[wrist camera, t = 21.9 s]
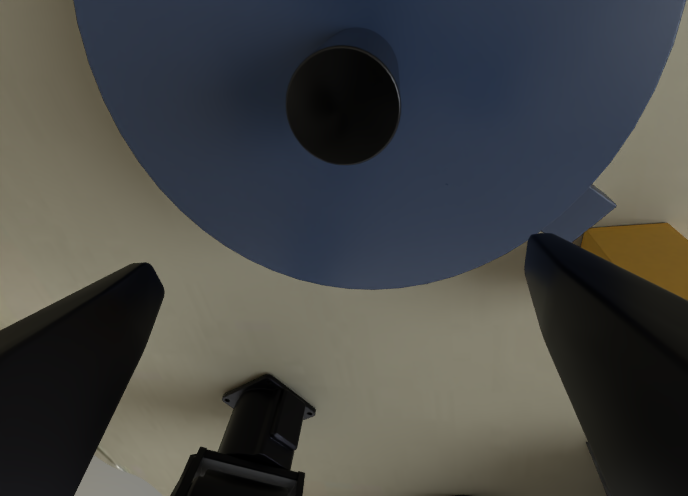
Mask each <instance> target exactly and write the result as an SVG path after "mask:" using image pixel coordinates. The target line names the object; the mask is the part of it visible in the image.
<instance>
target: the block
mask: <svg viewBox="0 0 688 496" xmlns="http://www.w3.org/2000/svg"><path fill="white" fill-rule="evenodd" d="M581 248H583V249H585V250H587V251H589V252H591V253H593V254H595V255H597V256H599V257H601V258H603V259H605V260H607V261H609V262H611V263H613V264H615V265H617V266H619V267H621V268H623V269H625V270H627V271H629V272H631V273H633V274H635V275H637V276H639V277H641V278H643V279H645V280H648V281H650V282H652V283H654V284H656V285H658V286H660V287H662V288H664V289H666V290H668V291H670V292H672V293H674V294H676V295H678V296H680V297H682V298H684V299H686V300H688V240H687V239H686V238H685V237H683V236H682V235H681V234H680V233H679V232H678V231H677V230H675V229H674V228H673V227H672V226H671V225H670V224H668V223H657V224H642V225H628V226H613V227H599V228H589V229H588V230H587V231H586V232H584V235H583V239H582V243H581Z"/></svg>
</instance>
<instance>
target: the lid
mask: <svg viewBox="0 0 688 496" xmlns="http://www.w3.org/2000/svg"><path fill="white" fill-rule="evenodd" d="M73 1H74V6H75V12H76V18H77V23H78V27H79V30H80V34H81V37H82V41H83V44H84V48H85V51H86V55H87V58H88V62H89V65H90V67H91V70H92V73H93V75H94V78H95V80H96V83H97V85H98V88H99V90H100V93H101V95H102V98H103V100H104V102H105V104H106V106H107V108H108V110H109V112H110V114H111V116H112V118H113V120H114V122H115V124H116V126H117V128H118V130H119V132H120V134H121V135H122V137H123V138H124V140H125V141H126V143H127V144H128V146H129V148H130V149H131V151H132V152H133V154H134V155H135V157H136V158H137V160H138V162H139V163H140V164H141V166H142V167H143V168H144V169H145V171H146V172H147V173H148V175H149V176H150V177H151V178H152V180H153V181H154V182H155V183H156V185H157V186H158V187H159V188H160V190H161V191H162V192H163V193H164V194H165V195H166V196H167V197H168V198H169V199H170V200H171V201H172V202H173V203H174V204H175V205H176V206H177V207H178V208H179V209H180V211H182V212H183V213H184V214H185V215H186V216H187V217H189V218H190V219H191V220H192V221H193V222H194V223H195V224H197V225H198V226H199V227H200V228H201V229H202V230H204V231H205V232H206V233H208V234H209V235H211V236H212V237H213V238H215V239H216V240H218V241H219V242H220V243H222V244H223V245H225V246H226V247H228V248H230V249H231V250H233V251H235V252H237V253H238V254H240V255H242V256H243V257H245V258H247V259H249V260H251V261H253V262H255V263H257V264H259V265H262V266H264V267H266V268H268V269H270V270H273V271H275V272H278V273H281V274H284V275H287V276H290V277H293V278H296V279H299V280H303V281H307V282H311V283H316V284H320V285H325V286H332V287H339V288H347V289H370V290H377V289H393V288H404V287H410V286H416V285H422V284H428V283H431V282H435V281H439V280H443V279H446V278H450V277H454V276H456V275H459V274H462V273H464V272H467V271H470V270H472V269H475V268H478V267H480V266H482V265H484V264H486V263H488V262H490V261H492V260H494V259H496V258H498V257H500V256H502V255H504V254H506V253H508V252H510V251H511V250H513V249H514V248H516V247H518V246H519V245H521V244H522V243H524V242H526V241H527V240H528V239H529V237H530V236H531V235H532V234H537V233H539V232H540V231H541V230H543V229H544V228H545V227H546V226H548V225H549V224H550V223H552V222H553V221H554V220H555V219H557V218H558V217H559V216H561V215H562V214H563V213H564V212H565V211H566V210H567V209H568V208H569V207H570V206H571V205H572V204H573V203H574V202H575V201H576V200H577V199H578V198H579V197H580V196H581V195H582V194H584V193H585V192H586V191H587V189H588V188H589V187H590V186H591V185H592V184H593V182H594V181H595V180H596V179H597V178H598V176H599V175H600V174H601V173H602V172H603V171H604V169H605V168H606V167H607V166H608V165H609V164H610V162H611V161H612V160H613V158H614V157H615V155H616V154H617V152H618V151H619V149H620V148H621V147H622V145H623V144H624V142H625V141H626V139H627V138H628V136H629V135H630V133H631V132H632V131H633V129H634V128H635V126H636V124H637V122H638V120H639V118H640V116H641V115H642V113H643V111H644V109H645V107H646V105H647V104H648V102H649V100H650V98H651V96H652V94H653V92H654V91H655V89H656V86H657V84H658V81H659V79H660V76H661V74H662V72H663V69H664V67H665V64H666V62H667V59H668V57H669V55H670V52H671V50H672V47H673V45H674V41H675V38H676V34H677V31H678V27H679V24H680V20H681V17H682V13H683V10H684V6H685V2H686V0H73Z"/></svg>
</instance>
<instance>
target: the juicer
mask: <svg viewBox="0 0 688 496" xmlns="http://www.w3.org/2000/svg"><path fill="white" fill-rule="evenodd" d="M586 444H587V446H588V449H589V451H590V454H591V456H592V459H593V461H594V464H595V466H596V469H597V471H598V474H599V476H600V479H601V481H602V484H603V487H604V489H605V492H606V494H607V496H611V494H610V491H609V489H608V487H607V484H606V482H605V480H604V477H603V475H602V473H601V470H600V468H599V466H598V464H597V461H596V459H595V457H594V454H593V452H592V450H591V447H590V445H589V443H588V442H586Z"/></svg>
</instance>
